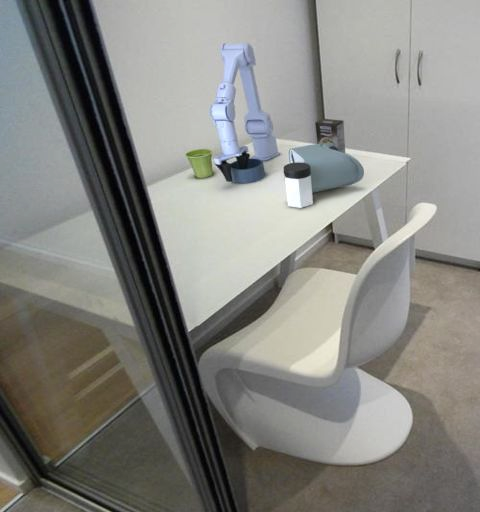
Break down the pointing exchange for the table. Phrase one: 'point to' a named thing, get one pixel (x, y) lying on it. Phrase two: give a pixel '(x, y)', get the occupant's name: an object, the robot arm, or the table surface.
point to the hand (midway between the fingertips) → (236, 177)
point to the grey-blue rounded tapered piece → (328, 166)
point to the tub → (248, 171)
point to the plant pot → (200, 162)
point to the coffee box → (331, 133)
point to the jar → (298, 184)
